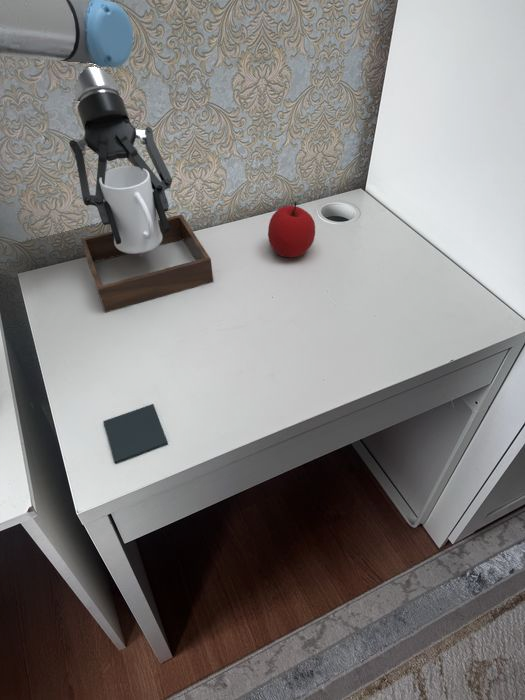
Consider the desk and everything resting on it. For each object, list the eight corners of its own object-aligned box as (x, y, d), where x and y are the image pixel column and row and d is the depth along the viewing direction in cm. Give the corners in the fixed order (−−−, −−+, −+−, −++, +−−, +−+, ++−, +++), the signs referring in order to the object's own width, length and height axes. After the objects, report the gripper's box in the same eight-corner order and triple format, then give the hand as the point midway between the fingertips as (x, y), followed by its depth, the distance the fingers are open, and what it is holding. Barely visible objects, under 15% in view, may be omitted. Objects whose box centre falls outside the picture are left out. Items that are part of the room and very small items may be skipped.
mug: (177, 254, 83) (166, 189, 74) (130, 269, 80) (113, 203, 72) (152, 222, 90) (140, 160, 82) (108, 235, 87) (90, 172, 79)
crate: (87, 261, 92) (80, 238, 88) (185, 236, 97) (181, 214, 94) (105, 312, 82) (97, 289, 78) (213, 281, 87) (211, 259, 83)
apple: (260, 242, 96) (260, 196, 88) (302, 233, 98) (305, 187, 90) (277, 268, 90) (278, 221, 82) (321, 258, 92) (326, 211, 84)
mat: (115, 464, 61) (114, 462, 61) (104, 423, 66) (103, 421, 65) (168, 444, 63) (167, 442, 63) (153, 405, 68) (153, 403, 67)
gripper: (157, 104, 85) (197, 228, 87) (38, 123, 80) (82, 256, 81) (161, 80, 78) (204, 215, 80) (30, 99, 72) (79, 245, 74)
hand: (143, 236), depth 80 cm, fingers closed on mug, 7 cm apart
